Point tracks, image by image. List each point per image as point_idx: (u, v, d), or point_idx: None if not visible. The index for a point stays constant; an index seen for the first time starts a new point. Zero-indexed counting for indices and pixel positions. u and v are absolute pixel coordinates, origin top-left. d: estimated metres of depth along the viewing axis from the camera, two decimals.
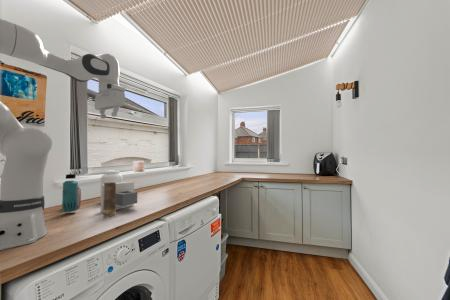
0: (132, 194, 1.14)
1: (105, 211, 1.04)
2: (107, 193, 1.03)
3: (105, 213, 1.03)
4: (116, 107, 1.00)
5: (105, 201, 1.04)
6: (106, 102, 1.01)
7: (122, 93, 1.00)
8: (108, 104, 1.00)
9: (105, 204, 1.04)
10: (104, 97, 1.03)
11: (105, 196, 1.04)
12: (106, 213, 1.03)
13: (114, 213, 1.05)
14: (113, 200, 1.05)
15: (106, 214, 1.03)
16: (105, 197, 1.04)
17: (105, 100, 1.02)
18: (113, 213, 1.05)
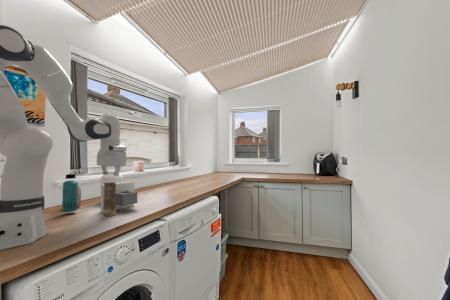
0: (132, 194, 1.14)
1: (105, 211, 1.04)
2: (107, 193, 1.03)
3: (105, 213, 1.03)
4: (118, 167, 1.02)
5: (105, 201, 1.04)
6: (108, 161, 1.04)
7: (124, 154, 1.02)
8: (110, 164, 1.03)
9: (105, 204, 1.04)
10: (106, 156, 1.05)
11: (105, 196, 1.04)
12: (106, 213, 1.03)
13: (114, 213, 1.05)
14: (113, 200, 1.05)
15: (106, 214, 1.03)
16: (105, 197, 1.04)
17: (107, 159, 1.04)
18: (113, 213, 1.05)
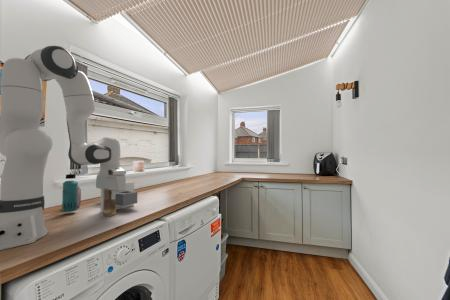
0: (132, 194, 1.14)
1: (105, 211, 1.04)
2: (107, 193, 1.03)
3: (105, 213, 1.03)
4: (114, 191, 1.03)
5: (105, 201, 1.04)
6: (107, 185, 1.03)
7: (123, 178, 1.02)
8: (109, 188, 1.02)
9: (105, 204, 1.04)
10: (105, 179, 1.05)
11: (105, 196, 1.04)
12: (106, 213, 1.03)
13: (114, 213, 1.05)
14: (113, 200, 1.05)
15: (106, 214, 1.03)
16: (105, 197, 1.04)
17: (106, 183, 1.04)
18: (113, 213, 1.05)
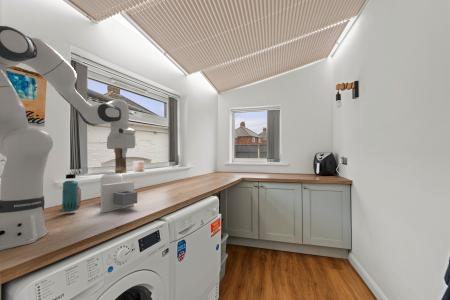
0: (132, 194, 1.14)
1: (117, 169, 1.10)
2: (118, 152, 1.09)
3: (117, 170, 1.10)
4: (125, 149, 1.09)
5: (116, 159, 1.11)
6: (118, 144, 1.10)
7: (133, 136, 1.08)
8: (120, 146, 1.09)
9: (116, 162, 1.11)
10: (116, 139, 1.11)
11: (116, 155, 1.11)
12: (118, 170, 1.10)
13: (125, 171, 1.12)
14: (124, 159, 1.11)
15: (118, 171, 1.10)
16: (116, 155, 1.10)
17: (117, 142, 1.10)
18: (124, 171, 1.11)
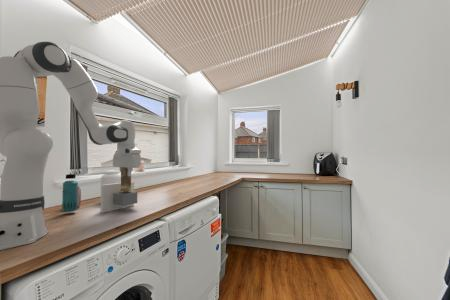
0: (132, 194, 1.14)
1: (122, 187, 1.14)
2: (124, 170, 1.13)
3: (122, 188, 1.14)
4: (130, 168, 1.13)
5: (122, 178, 1.14)
6: (124, 163, 1.13)
7: (139, 156, 1.12)
8: (126, 165, 1.12)
9: (122, 180, 1.14)
10: (122, 158, 1.15)
11: (122, 173, 1.14)
12: (123, 188, 1.13)
13: (130, 189, 1.15)
14: (129, 177, 1.15)
15: (123, 189, 1.13)
16: (122, 174, 1.14)
17: (123, 161, 1.14)
18: (129, 189, 1.15)
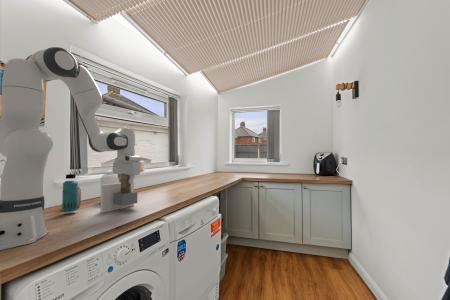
0: (132, 194, 1.14)
1: None
2: (124, 181, 1.13)
3: None
4: (132, 176, 1.12)
5: (121, 189, 1.14)
6: (124, 170, 1.13)
7: (139, 163, 1.11)
8: (126, 173, 1.12)
9: (121, 191, 1.14)
10: (122, 165, 1.15)
11: (121, 184, 1.14)
12: None
13: None
14: (129, 188, 1.15)
15: None
16: (122, 185, 1.14)
17: (123, 168, 1.14)
18: None
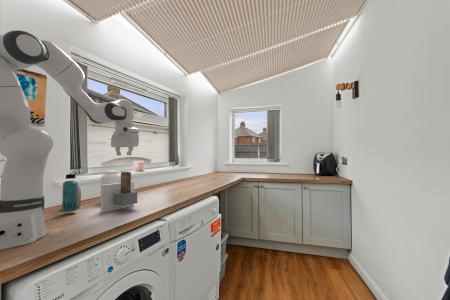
0: (132, 194, 1.14)
1: None
2: (124, 181, 1.13)
3: None
4: (131, 147, 1.12)
5: (121, 189, 1.14)
6: (122, 142, 1.13)
7: (137, 135, 1.11)
8: (124, 144, 1.12)
9: (121, 191, 1.14)
10: (120, 137, 1.15)
11: (121, 184, 1.14)
12: None
13: None
14: (129, 188, 1.15)
15: None
16: (122, 185, 1.14)
17: (121, 140, 1.14)
18: None
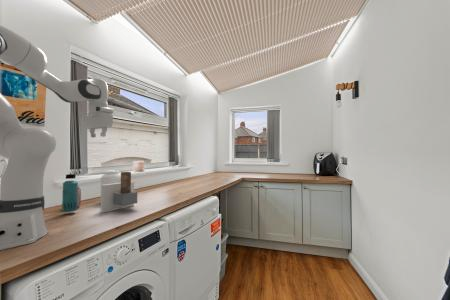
0: (132, 194, 1.14)
1: None
2: (124, 181, 1.13)
3: None
4: (105, 128, 1.07)
5: (121, 189, 1.14)
6: (95, 123, 1.08)
7: (110, 115, 1.07)
8: (97, 125, 1.08)
9: (121, 191, 1.14)
10: (94, 118, 1.10)
11: (121, 184, 1.14)
12: None
13: None
14: (129, 188, 1.15)
15: None
16: (122, 185, 1.14)
17: (94, 121, 1.09)
18: None
